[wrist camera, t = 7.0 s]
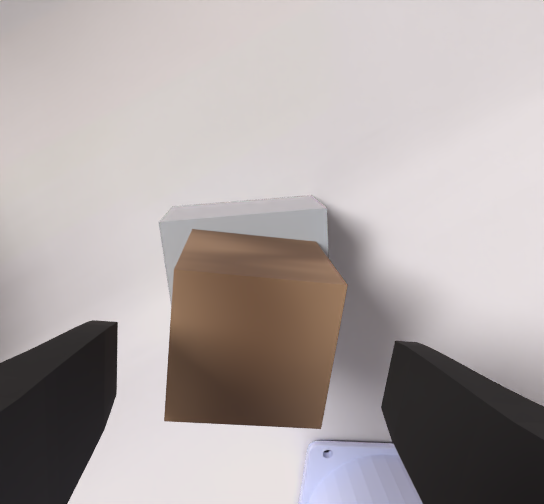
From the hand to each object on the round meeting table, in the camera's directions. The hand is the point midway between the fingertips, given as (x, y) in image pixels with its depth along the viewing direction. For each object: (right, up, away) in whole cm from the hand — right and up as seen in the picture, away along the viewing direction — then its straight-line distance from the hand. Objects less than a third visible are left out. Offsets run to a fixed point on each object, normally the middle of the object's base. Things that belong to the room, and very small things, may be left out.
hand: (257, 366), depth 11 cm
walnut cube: (0, +1, +5) cm, 5 cm away
